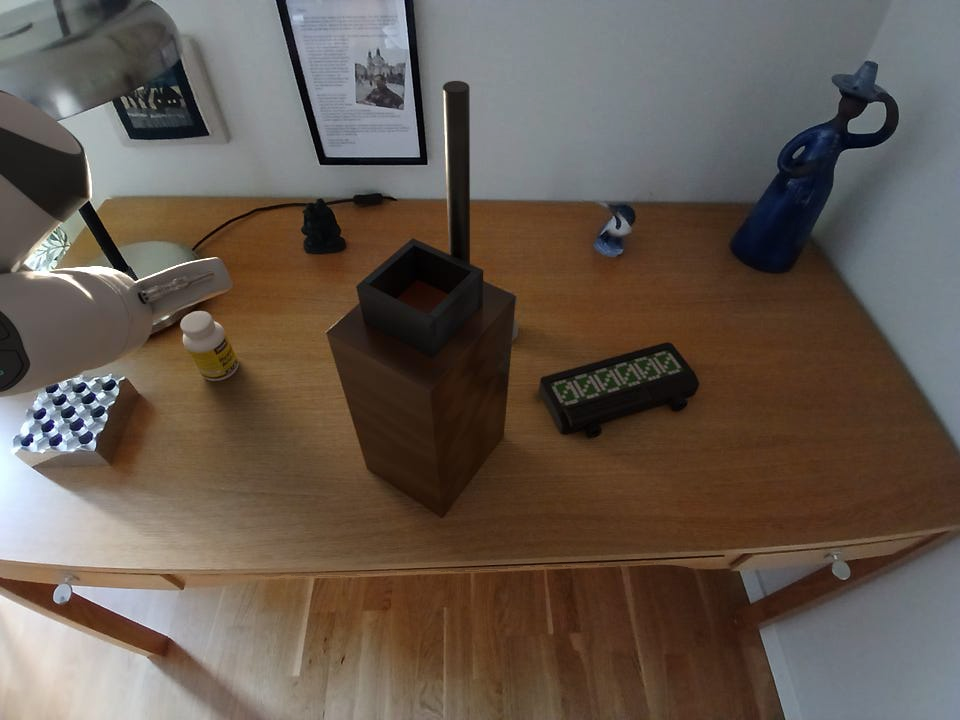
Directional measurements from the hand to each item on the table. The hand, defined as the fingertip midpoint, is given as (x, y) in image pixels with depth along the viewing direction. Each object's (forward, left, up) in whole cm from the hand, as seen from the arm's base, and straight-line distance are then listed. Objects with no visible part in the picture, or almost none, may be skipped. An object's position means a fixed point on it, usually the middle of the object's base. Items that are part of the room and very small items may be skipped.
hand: (160, 301), depth 64 cm
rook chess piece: (+42, 0, -19) cm, 46 cm away
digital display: (+54, -16, -19) cm, 60 cm away
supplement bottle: (0, +5, -19) cm, 19 cm away
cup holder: (+28, -18, -18) cm, 37 cm away
